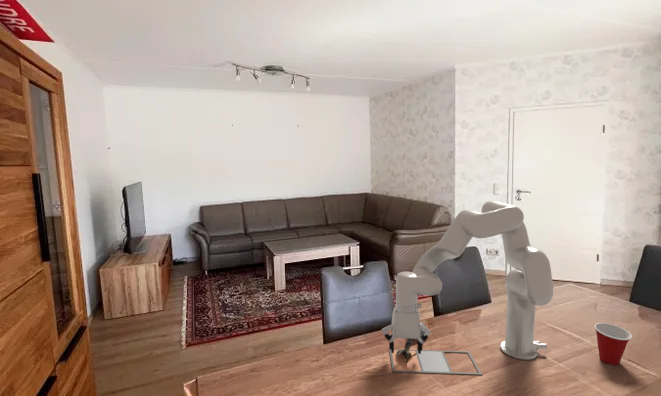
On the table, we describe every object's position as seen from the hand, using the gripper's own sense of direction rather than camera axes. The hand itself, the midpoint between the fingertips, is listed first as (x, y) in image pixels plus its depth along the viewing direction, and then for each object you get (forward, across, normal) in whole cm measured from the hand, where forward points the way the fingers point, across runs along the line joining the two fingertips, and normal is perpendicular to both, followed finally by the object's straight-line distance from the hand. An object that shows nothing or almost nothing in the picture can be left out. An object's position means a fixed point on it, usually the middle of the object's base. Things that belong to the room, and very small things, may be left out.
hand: (405, 351), depth 133 cm
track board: (+4, -10, 0) cm, 10 cm away
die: (+4, -8, -18) cm, 20 cm away
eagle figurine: (+4, 0, -2) cm, 4 cm away
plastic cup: (+4, -74, -4) cm, 74 cm away
